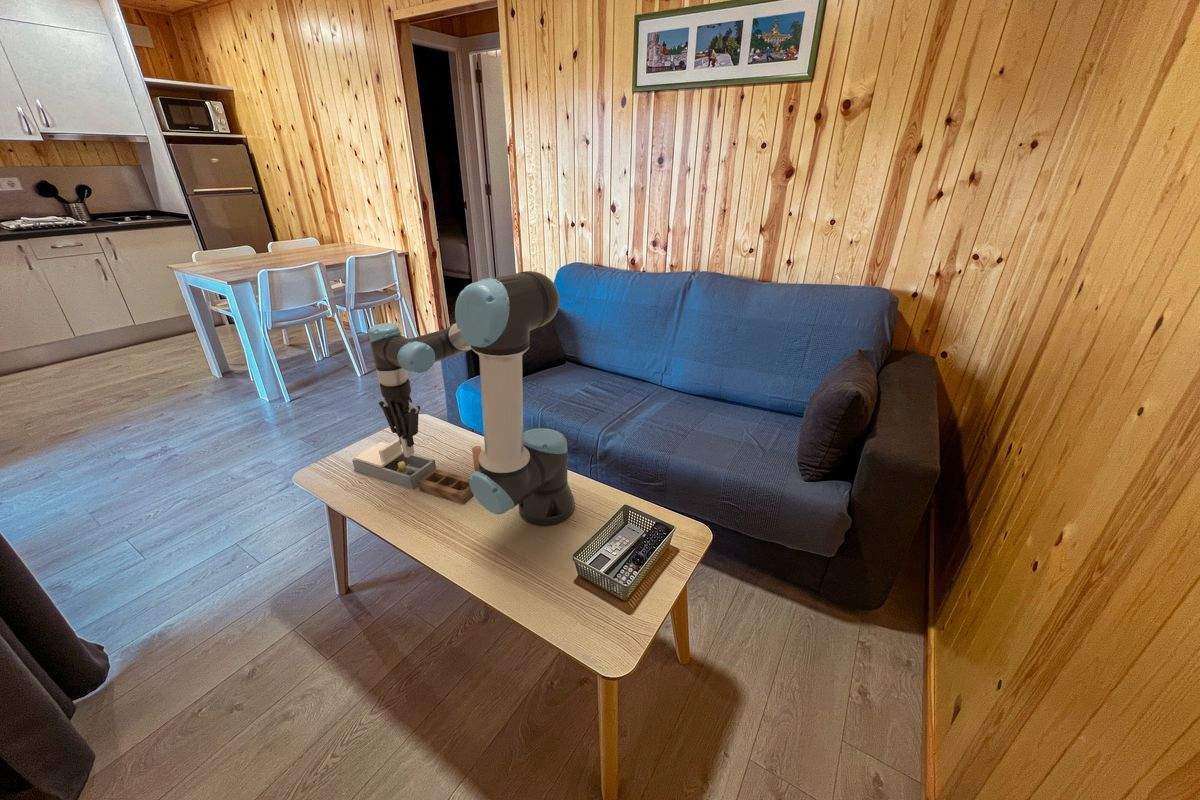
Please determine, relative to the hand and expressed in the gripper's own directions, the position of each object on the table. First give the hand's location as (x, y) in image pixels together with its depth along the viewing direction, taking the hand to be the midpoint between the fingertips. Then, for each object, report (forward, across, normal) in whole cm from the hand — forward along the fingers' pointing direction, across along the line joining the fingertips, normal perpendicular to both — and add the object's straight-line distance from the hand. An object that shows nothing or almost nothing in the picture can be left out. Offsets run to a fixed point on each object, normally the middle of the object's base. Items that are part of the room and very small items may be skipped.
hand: (409, 454), depth 135 cm
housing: (+7, +7, 0) cm, 10 cm away
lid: (+3, +11, 0) cm, 12 cm away
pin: (+8, -18, -7) cm, 21 cm away
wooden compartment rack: (+8, -14, +2) cm, 16 cm away
